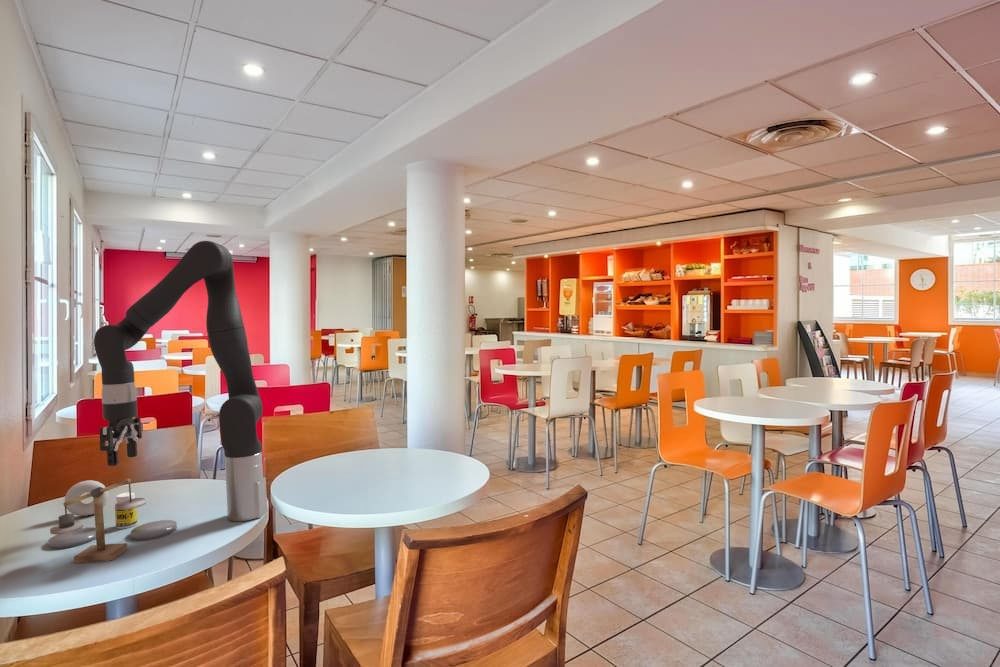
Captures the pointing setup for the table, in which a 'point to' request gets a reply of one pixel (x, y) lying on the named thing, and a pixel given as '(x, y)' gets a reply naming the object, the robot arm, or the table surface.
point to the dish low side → (72, 538)
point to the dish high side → (153, 530)
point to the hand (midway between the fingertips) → (123, 460)
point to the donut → (78, 490)
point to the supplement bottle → (125, 513)
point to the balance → (97, 525)
